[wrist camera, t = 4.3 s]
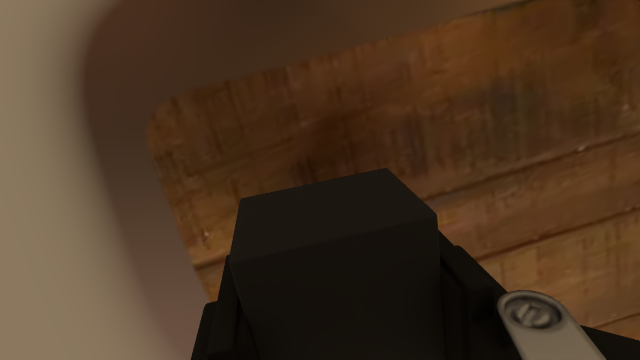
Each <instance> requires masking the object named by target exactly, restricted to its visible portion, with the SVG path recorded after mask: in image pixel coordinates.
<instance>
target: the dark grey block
mask: <svg viewBox="0 0 640 360" xmlns="http://www.w3.org/2000/svg"><path fill="white" fill-rule="evenodd" d="M228 263H229V266H230V270H231V273H232V276H233V279H234V283H235V286H236V289H237V293H238V296H239V299H240V302H241V306H242V309H243V312H244V316H245V318H246V319H247V322H248V326H249V329H250V332H251V336H252V339H253V342H254V345H255V349H256V352H257V355H258V359H259V360H447V358H446V343H445V329H444V314H443V300H442V285H441V266H440V251H439V236H438V222H437V215H436V213H435V212H434V211H433V210H432V209H431V208H430V207H428V206H427V205H426V204H425V203H424V202H423V201H422V200H421V199H420V198H419V197H418V196H417V195H415V194H414V193H413V192H412V191H411V190H410V189H409V188H408V187H407V186H406V185H405V184H403V183H402V182H401V181H400V180H399V179H398V178H397V177H396V176H395V175H394V174H393V173H392V172H390V171H389V170H388V169H387V168H383V169H378V170H374V171H369V172H364V173H359V174H355V175H350V176H345V177H341V178H336V179H331V180H327V181H322V182H317V183H312V184H308V185H303V186H298V187H294V188H289V189H284V190H280V191H275V192H270V193H265V194H261V195H256V196H251V197H247V198H242V199H241V200H240V204H239V210H238V215H237V220H236V225H235V230H234V235H233V241H232V246H231V251H230V256H229V262H228Z"/></svg>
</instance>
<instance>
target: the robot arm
mask: <svg viewBox="0 0 640 360" xmlns="http://www.w3.org/2000/svg"><path fill="white" fill-rule="evenodd" d="M438 236H439V251H440V266H441V285H442V300H443V314H444V329H445V343H446V358H447V360H640V341H639V340H635V339H631V338H627V337H624V336H620V335H616V334H612V333H608V332H605V331H601V330H597V329H593V328H590V327H586V326H582V325H579V324H578V323H577V321H576V320H575V319H574V317H573V316H572V315H571V314H570V312H569V311H568V310H567V308H566V307H565V306H563V305H562V304H561V303H560V302H559V301H558V300H556V299H554V298H552V297H551V296H548V295H546V294H543V293H540V292H535V291H530V290H517V291H511V292H507V291H506V290H505V289H504V288H503V287H502V286H501V285H500V284H499V283H498V282H497V281H496V280H495V279H494V278H493V277H492V276H491V275H490V274H488V273H487V272H486V271H485V270H484V269H483V268H482V267H481V266H480V265H479V264H478V263H477V262H476V261H475V260H474V259H473V258H472V257H471V256H470V255H469V254H468V253H467V252H466V251H465V250H464V249H463V248H462V247H460V246H457V245H456V246H454V245H453V244H452V243H451V242H450V241H449V240H448V239H447V238H446V237H445V236H444V235H443V234H442V233H441V232H440V231H439V230H438ZM229 256H230V255H227V257H226V261H225V266H224V271H223V276H222V281H221V285H220V290H219V295H218V300H217V301H215V302H211V303H207V304H206V305H205V307H204V310H203V314H202V318H201V322H200V326H199V329H198V333H197V337H196V341H195V345H194V349H193V353H192V357H191V360H259V359H258V355H257V352H256V349H255V345H254V342H253V339H252V336H251V332H250V329H249V326H248V322H247V319H246V318H245V316H244V312H243V309H242V306H241V302H240V299H239V296H238V293H237V289H236V286H235V283H234V279H233V276H232V273H231V270H230V266H229V263H228V262H229Z"/></svg>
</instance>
